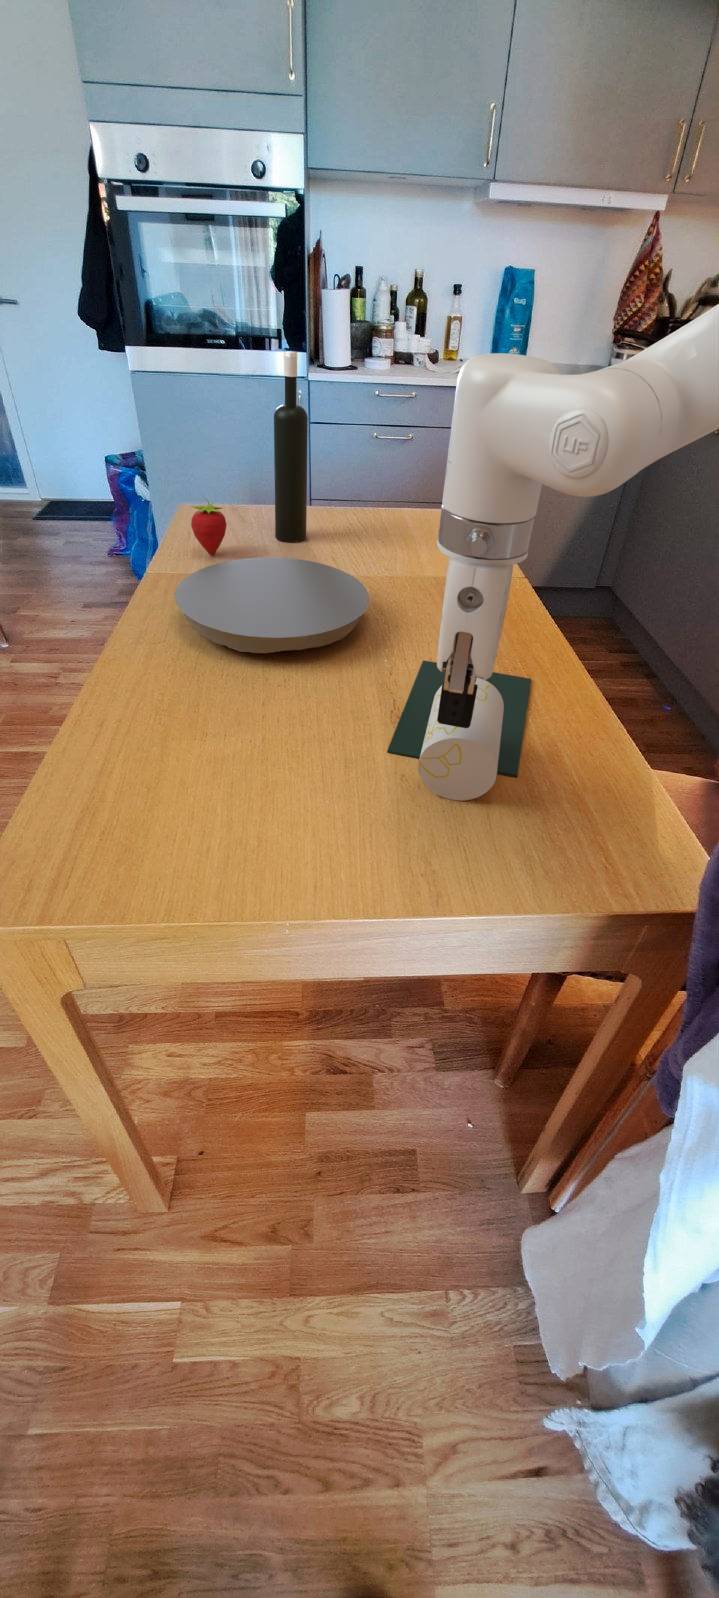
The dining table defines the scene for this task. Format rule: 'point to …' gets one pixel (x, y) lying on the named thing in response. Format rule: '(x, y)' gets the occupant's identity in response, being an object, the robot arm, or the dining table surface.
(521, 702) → the mat
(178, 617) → the dining table surface
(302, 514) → the wine bottle
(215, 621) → the flat disc
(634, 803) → the dining table surface
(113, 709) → the dining table surface
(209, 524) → the strawberry
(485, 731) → the cup
